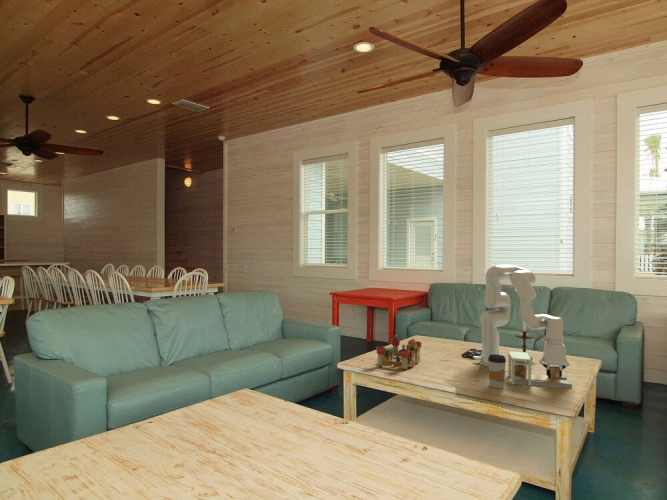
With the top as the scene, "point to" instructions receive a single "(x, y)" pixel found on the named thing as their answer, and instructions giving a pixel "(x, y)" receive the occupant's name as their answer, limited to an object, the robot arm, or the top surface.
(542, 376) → the strip
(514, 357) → the white stool
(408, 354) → the block castle
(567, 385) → the lane board
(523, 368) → the cube
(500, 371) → the coffee cup
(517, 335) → the candlestick
